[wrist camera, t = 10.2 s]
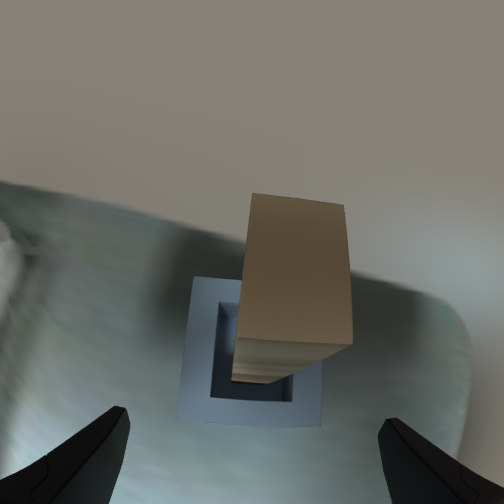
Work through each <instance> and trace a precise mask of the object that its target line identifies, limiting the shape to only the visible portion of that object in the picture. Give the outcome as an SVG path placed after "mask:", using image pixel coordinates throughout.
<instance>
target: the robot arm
mask: <svg viewBox="0 0 504 504" xmlns="http://www.w3.org/2000/svg"><path fill="white" fill-rule="evenodd" d="M129 431H130V421H129V417H128V413H127V410H126V408H124V407H119V406H113V407H112V408H111V409H109V410H108V411H107V412H105V413H104V414H102V415H101V416H100V417H98V418H97V419H96V420H94V421H93V422H92V423H90V424H89V425H87V426H86V427H85V428H83V429H82V430H80V431H79V432H78V433H76V434H75V435H73V436H72V437H71V438H69V439H68V440H66V441H65V442H63V443H62V444H61V445H59V446H58V447H56V448H55V449H53V450H52V451H51V452H49V453H48V454H47V456H46V455H45V456H43V457H42V458H40V459H39V460H37V461H36V462H34V463H32V464H31V465H29V466H27V467H25V468H24V469H22V470H20V471H18V472H16V473H14V474H12V475H9V476H7V477H5V478H3V479H1V480H0V504H109V502H110V499H111V496H112V493H113V490H114V487H115V484H116V481H117V478H118V475H119V472H120V469H121V466H122V463H123V459H124V454H125V449H126V445H127V440H128V436H129ZM378 442H379V448H380V454H381V460H382V466H383V471H384V475H385V479H386V482H387V486H388V489H389V493H390V496H391V500H392V504H504V488H503V487H501V486H499V485H497V484H495V483H493V482H491V481H489V480H487V479H485V478H483V477H482V476H480V475H478V474H476V473H475V472H473V471H471V470H470V469H468V468H467V467H465V466H464V465H462V464H460V463H459V462H458V461H456V460H455V459H454V458H452V457H451V456H449V455H448V454H446V453H445V452H444V451H442V450H441V449H439V448H438V447H437V446H435V445H434V444H432V443H431V442H430V441H428V440H427V439H425V438H424V437H423V436H421V435H420V434H418V433H417V432H416V431H414V430H413V429H412V428H410V427H409V426H408V425H406V424H405V423H403V422H402V421H401V420H399V419H398V418H389V419H386V420H385V422H384V424H383V425H382V427H381V429H380V431H379V433H378Z"/></svg>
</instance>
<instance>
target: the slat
mask: <svg viewBox="0 0 504 504" xmlns="http://www.w3.org/2000/svg"><path fill="white" fill-rule="evenodd" d="M352 344H353V318H352V295H351V278H350V264H349V252H348V241H347V231H346V222H345V212H344V205H340V204H334V203H326V202H320V201H312V200H305V199H298V198H290V197H281V196H273V195H266V194H256V193H252V200H251V209H250V216H249V225H248V233H247V241H246V249H245V258H244V266H243V275H242V283H241V292H240V300H239V309H238V318H237V326H236V335H235V345H234V356H233V366H232V376H231V382H232V383H242V384H254V385H267V384H269V383H272V382H274V381H277V380H279V379H281V378H284V377H286V376H288V375H290V374H293V373H295V372H297V371H299V370H301V369H304V368H306V367H308V366H310V365H312V364H314V363H316V362H318V361H320V360H323V359H325V358H327V357H329V356H331V355H333V354H335V353H337V352H339V351H341V350H342V349H344V348H346V347H348V346H350V345H352Z"/></svg>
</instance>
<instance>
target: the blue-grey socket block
mask: <svg viewBox="0 0 504 504" xmlns="http://www.w3.org/2000/svg"><path fill="white" fill-rule="evenodd" d="M241 283H242V280H230V279H219V278H209V277H198V276H194V278H193V285H192V291H191V298H190V306H189V313H188V321H187V328H186V336H185V345H184V353H183V362H182V371H181V381H180V391H179V402H178V413H177V419H184V420H191V421H199V422H208V423H218V424H230V425H245V426H269V427H304V426H321V408H322V360H320V361H318V362H316V363H314V364H312V365H310V366H308V367H306V368H304V369H301V370H299V371H297V372H295V373H293V374H290V375H288V376H286V377H284V378H281V379H279V380H277V381H274V382H272V383H269V384H267V385H254V384H242V383H232V382H231V376H232V366H233V356H234V345H235V335H236V326H237V318H238V309H239V300H240V292H241Z"/></svg>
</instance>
